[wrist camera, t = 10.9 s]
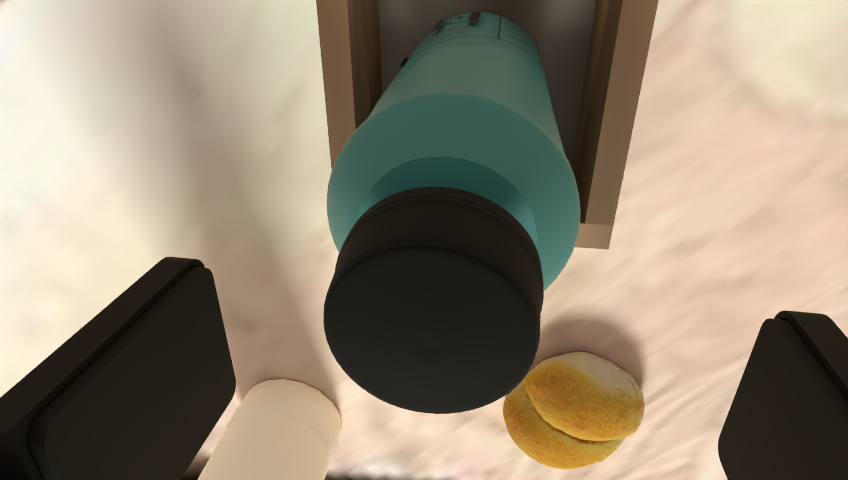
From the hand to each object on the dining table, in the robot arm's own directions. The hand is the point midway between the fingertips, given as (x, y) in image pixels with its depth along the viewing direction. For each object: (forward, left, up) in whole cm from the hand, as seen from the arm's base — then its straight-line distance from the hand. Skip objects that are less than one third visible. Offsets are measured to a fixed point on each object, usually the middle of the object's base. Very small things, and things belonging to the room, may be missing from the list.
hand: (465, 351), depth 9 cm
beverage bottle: (+1, 0, -20) cm, 20 cm away
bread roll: (-7, +21, -21) cm, 30 cm away
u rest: (+1, 0, -20) cm, 20 cm away
